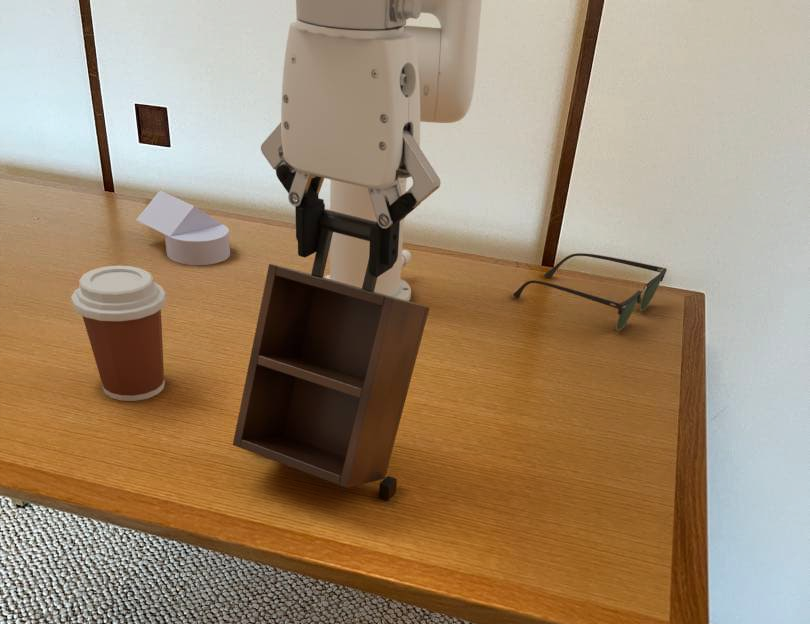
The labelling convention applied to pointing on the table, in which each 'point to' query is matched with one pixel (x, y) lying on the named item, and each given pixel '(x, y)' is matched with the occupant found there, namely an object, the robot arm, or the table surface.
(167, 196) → the wedge on round base
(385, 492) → the dark brown rod
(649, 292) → the sunglasses
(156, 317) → the coffee cup
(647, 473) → the table surface
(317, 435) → the shelf
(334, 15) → the robot arm
